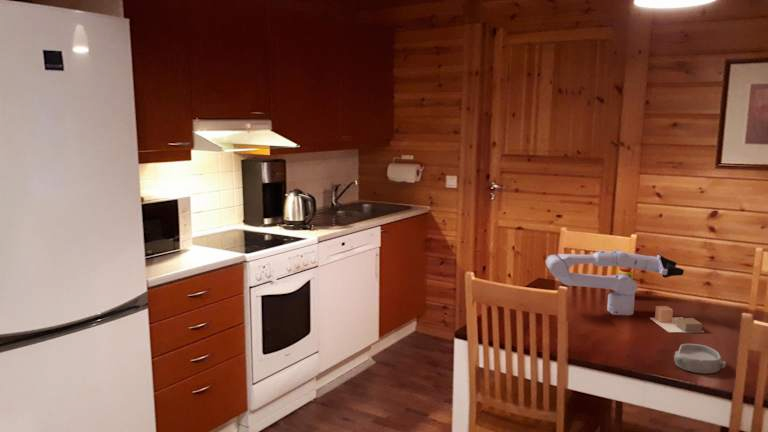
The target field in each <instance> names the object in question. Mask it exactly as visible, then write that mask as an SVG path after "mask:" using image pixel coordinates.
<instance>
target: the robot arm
mask: <svg viewBox="0 0 768 432" xmlns="http://www.w3.org/2000/svg"><path fill="white" fill-rule="evenodd" d="M585 264H594V265H595V266H596V267H615V266H617V267H621V268H626V267H631V268H632V269H635V270H642V271H647V272H653V273H657V274H661V276H662V277H663V278H665V279H667V278H670V277H674V276H676V277H677V276H683V275H684V272H685V270H684V269H683V268H680V267H676V266H677V262H676V261H674V260H672V259H668V258H666V257H664V256H663V255H661V254H660V253H657V255H656V256H654V255H643V254H638V253H630V252H625V251H624V250H621V249H620V250H619V249H615V250H614V249H613V250H612V251H604V250H602V249H600V250H598V251H595V252H594V253H593V254H580V253H579V254H578V253H577V254H575V253H574V254H572V253H571V254H570V253H558V254H549V255H548V256H547V257H546V259H545V266H546V267H547V269H548V271H549V273H551V275H552V276H553V277H554V278H555V279H557V280H558V281H559V282H560V283H561V284H563V285H565V286H573V287H574V286H575V287H585V288H595V289H606V290H612V291H614V292H610V293H608V295H607V304H606V306H607V307H606V311H608V312H609V313H610V314H612V316H631V315H634V309H635V296H636V295H635V294H636V292H638V284H637V282H636V281H635V280H634V279H631V278H630V277H629V276H628V275H626V274H619V273H618V274H614V275H613V274H611V275H600V274H590V273H577V272H570V271H569V269H570V268H572V266H573V265H585Z"/></svg>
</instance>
